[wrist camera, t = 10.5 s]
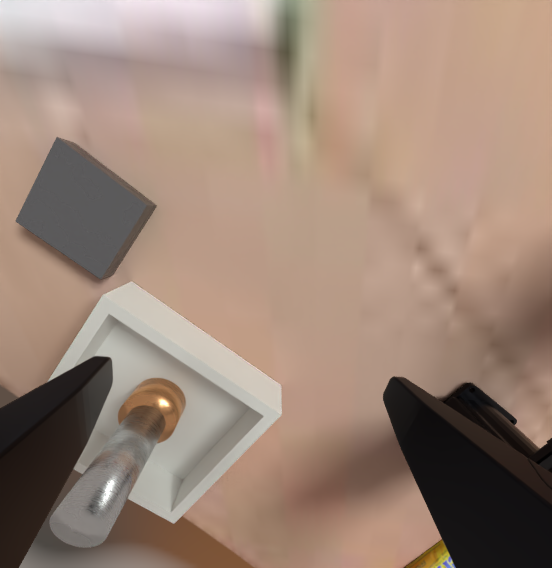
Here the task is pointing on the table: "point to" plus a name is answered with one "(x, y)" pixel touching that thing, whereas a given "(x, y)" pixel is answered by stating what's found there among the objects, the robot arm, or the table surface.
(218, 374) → the bin
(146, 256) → the table surface
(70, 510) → the knob
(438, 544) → the candy bar
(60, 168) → the stud plate
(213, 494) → the table surface
